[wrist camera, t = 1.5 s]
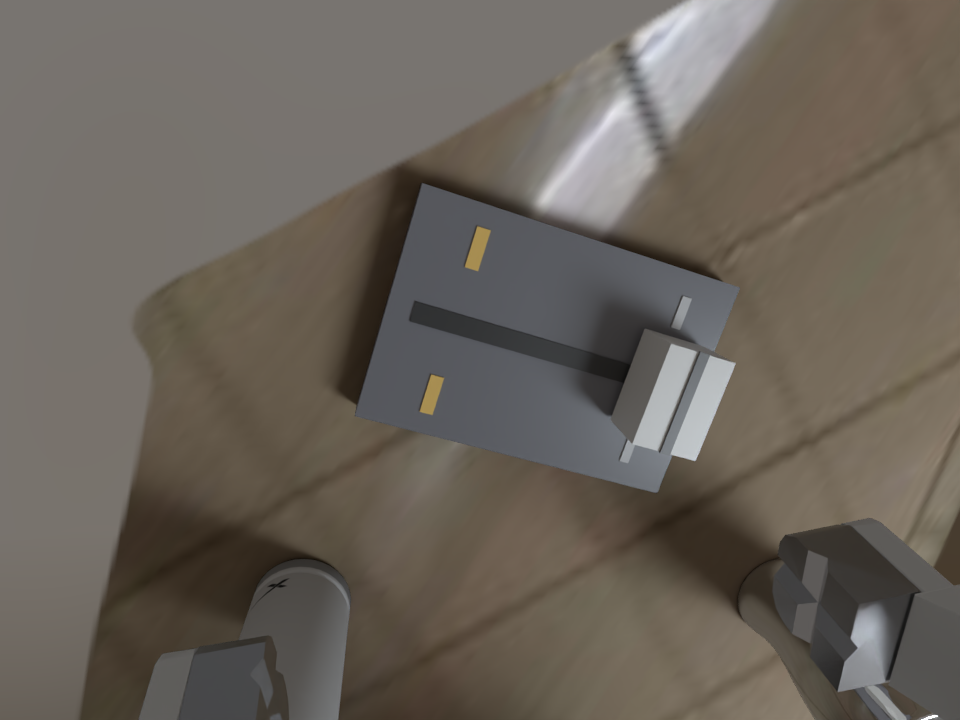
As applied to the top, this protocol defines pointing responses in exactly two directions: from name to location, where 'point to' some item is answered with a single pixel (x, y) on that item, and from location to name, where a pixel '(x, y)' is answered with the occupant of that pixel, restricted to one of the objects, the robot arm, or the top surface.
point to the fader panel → (526, 337)
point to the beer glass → (838, 715)
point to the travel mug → (304, 633)
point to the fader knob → (671, 395)
